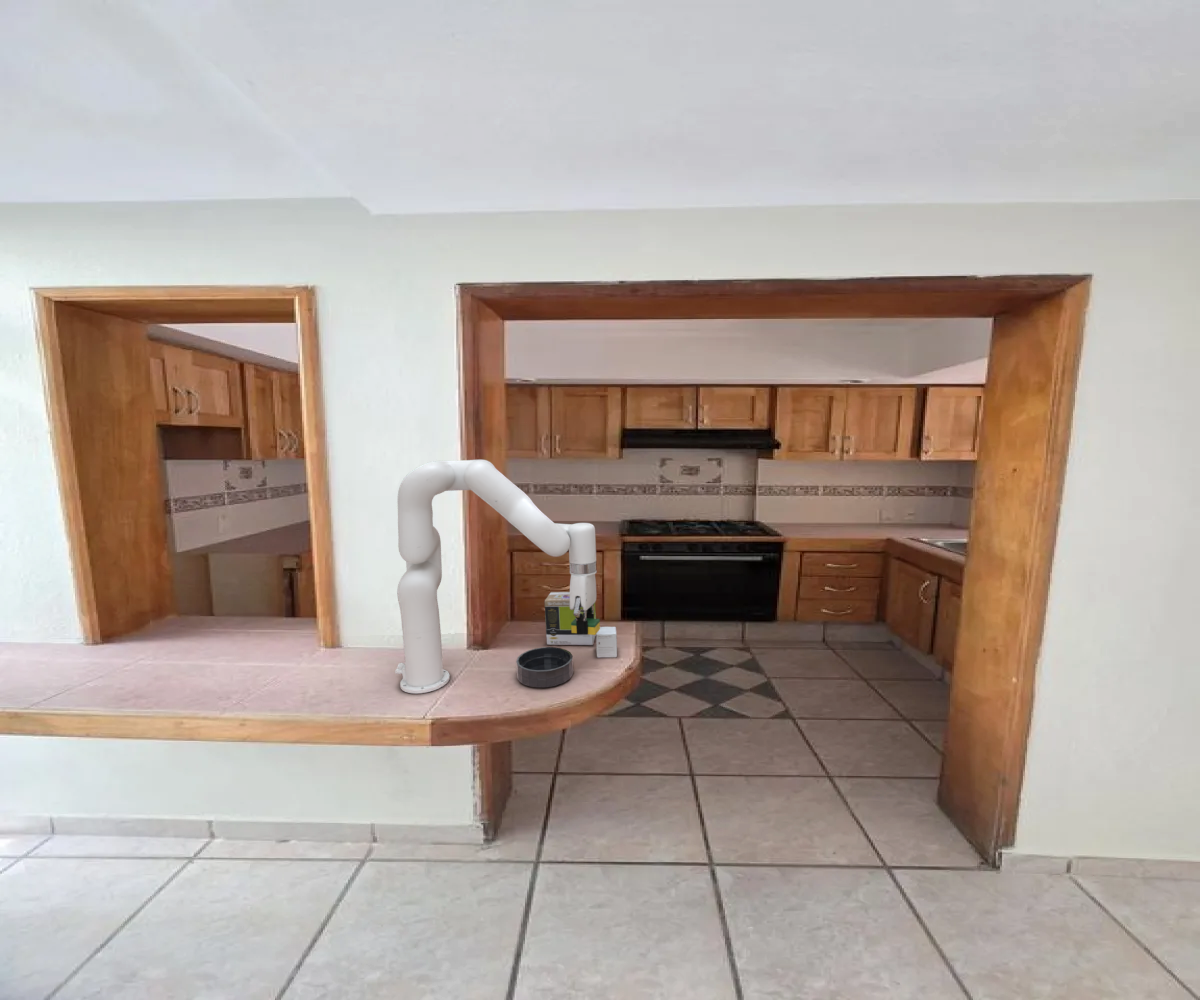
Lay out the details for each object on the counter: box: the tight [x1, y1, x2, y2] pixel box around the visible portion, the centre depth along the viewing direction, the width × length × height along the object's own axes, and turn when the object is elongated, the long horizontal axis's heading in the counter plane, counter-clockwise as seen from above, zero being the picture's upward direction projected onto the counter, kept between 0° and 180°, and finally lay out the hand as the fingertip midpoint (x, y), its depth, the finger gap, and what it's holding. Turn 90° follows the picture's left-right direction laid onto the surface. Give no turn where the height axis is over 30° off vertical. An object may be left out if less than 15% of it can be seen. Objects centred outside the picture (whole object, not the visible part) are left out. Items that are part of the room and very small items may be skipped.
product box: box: [595, 626, 618, 658], centre depth 149 cm, size 6×6×7 cm
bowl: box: [515, 646, 574, 689], centre depth 136 cm, size 15×15×5 cm
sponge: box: [571, 618, 601, 635], centre depth 140 cm, size 7×4×3 cm, turn 72°
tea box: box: [544, 591, 597, 646], centre depth 160 cm, size 15×10×15 cm, turn 84°
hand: (585, 629), depth 140 cm, fingers closed on sponge, 4 cm apart
